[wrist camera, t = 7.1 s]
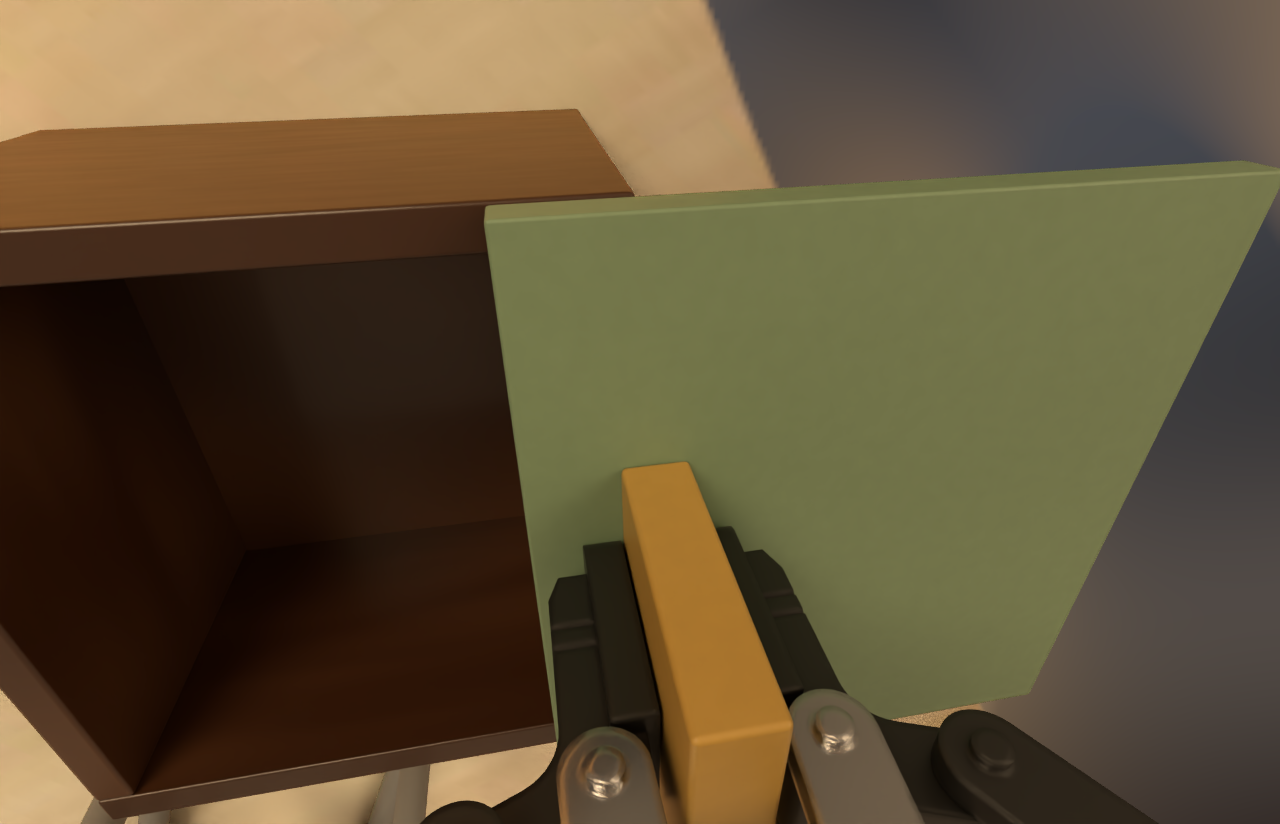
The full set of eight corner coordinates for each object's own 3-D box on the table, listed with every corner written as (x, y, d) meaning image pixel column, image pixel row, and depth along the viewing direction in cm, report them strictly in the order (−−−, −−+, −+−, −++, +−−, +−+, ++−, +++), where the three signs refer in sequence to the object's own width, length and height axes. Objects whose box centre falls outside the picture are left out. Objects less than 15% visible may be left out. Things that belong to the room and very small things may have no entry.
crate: (38, 129, 15) (-384, 251, 8) (577, 108, 17) (635, 191, 10) (237, 554, 23) (112, 820, 15) (601, 508, 24) (644, 727, 17)
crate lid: (484, 203, 9) (466, 428, 4) (1243, 159, 11) (1815, 284, 6) (559, 749, 17) (583, 1058, 12) (1010, 669, 18) (1191, 909, 14)
